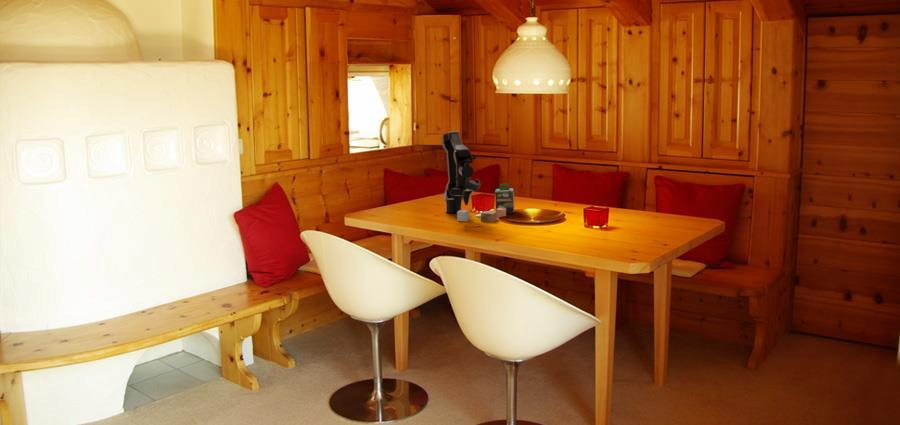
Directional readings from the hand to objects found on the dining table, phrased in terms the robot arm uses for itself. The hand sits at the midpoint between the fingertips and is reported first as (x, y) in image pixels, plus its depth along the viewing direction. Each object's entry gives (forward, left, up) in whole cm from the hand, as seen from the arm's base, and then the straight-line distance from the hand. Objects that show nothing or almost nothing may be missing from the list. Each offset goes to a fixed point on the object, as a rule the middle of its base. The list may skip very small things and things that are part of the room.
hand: (463, 207), depth 422 cm
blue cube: (0, 0, -6) cm, 7 cm away
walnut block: (+12, +3, -7) cm, 14 cm away
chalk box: (+13, +24, -7) cm, 28 cm away
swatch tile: (+6, +11, -6) cm, 14 cm away
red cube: (+15, +13, -6) cm, 21 cm away
